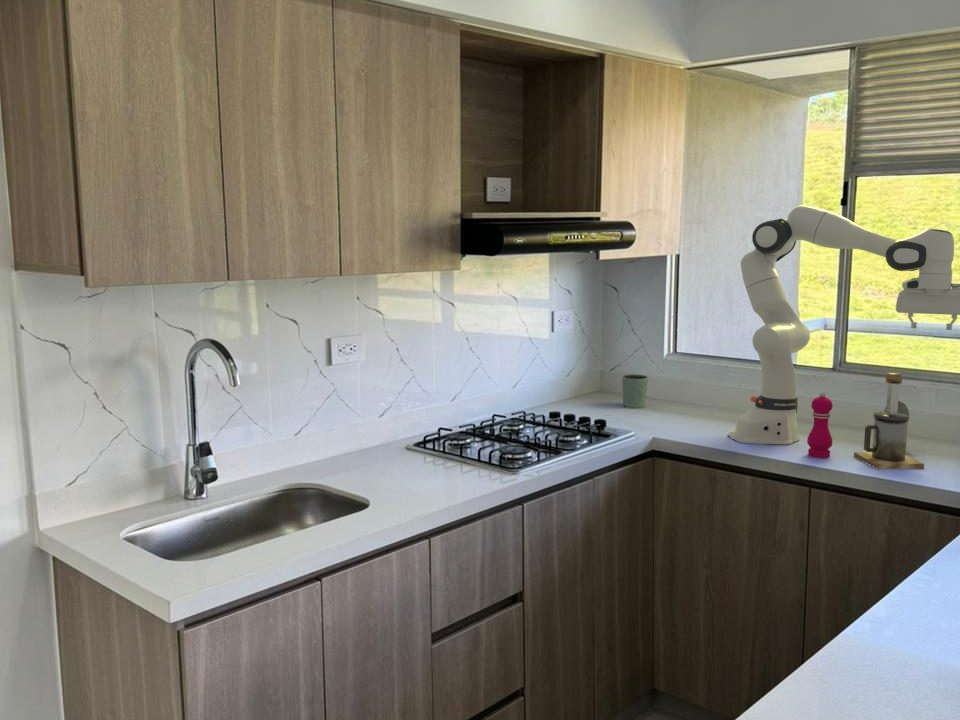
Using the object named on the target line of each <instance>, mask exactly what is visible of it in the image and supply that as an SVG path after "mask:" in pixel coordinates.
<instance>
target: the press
mask: <svg viewBox="0 0 960 720" xmlns="http://www.w3.org/2000/svg"><path fill="white" fill-rule="evenodd" d="M872 416H873V418H874V419H873V424H867V425H865V426H864V440H863V441H864V443H863V450H864V451H865V452H872V457H873V458H875V459H878V460H883V461H891V462H900V461H904V460H905V455H907V454H906V453H907V452H906V451H907V441H908V440H907V439H908V426H909V421H910V414H909V415H906V414H902V413H897V415H889V414H886V412H884V411H876V412H874V413H873V415H872ZM872 430H873V431H872ZM872 432H873V435H872ZM871 437H872V447H871Z"/></svg>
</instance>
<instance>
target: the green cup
mask: <svg viewBox="0 0 960 720" xmlns="http://www.w3.org/2000/svg"><path fill="white" fill-rule="evenodd" d="M621 379H622V381H621V383H622V385H621V386H622V389H621V390H622V407H624V406H625V407H624V408H626V407H630V408H629V409H642V408H643V407H644V408H645V406H646V400H647V399H646V398H647V389H648V383H649V381H648V380H649V377H648V376H647V375H644V374H635V373H634V374H623V375H622V376H621ZM644 408H643V409H644Z"/></svg>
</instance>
